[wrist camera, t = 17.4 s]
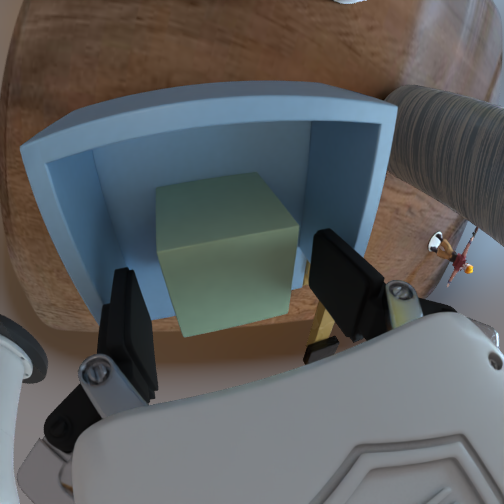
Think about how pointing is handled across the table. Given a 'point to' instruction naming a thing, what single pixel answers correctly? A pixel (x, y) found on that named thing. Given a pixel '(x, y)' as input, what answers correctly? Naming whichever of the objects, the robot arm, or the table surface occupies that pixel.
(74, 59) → the table surface
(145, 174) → the light blue walled tray
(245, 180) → the block
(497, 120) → the vase
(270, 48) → the table surface
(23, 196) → the table surface
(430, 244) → the action figure
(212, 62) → the table surface
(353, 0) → the can
